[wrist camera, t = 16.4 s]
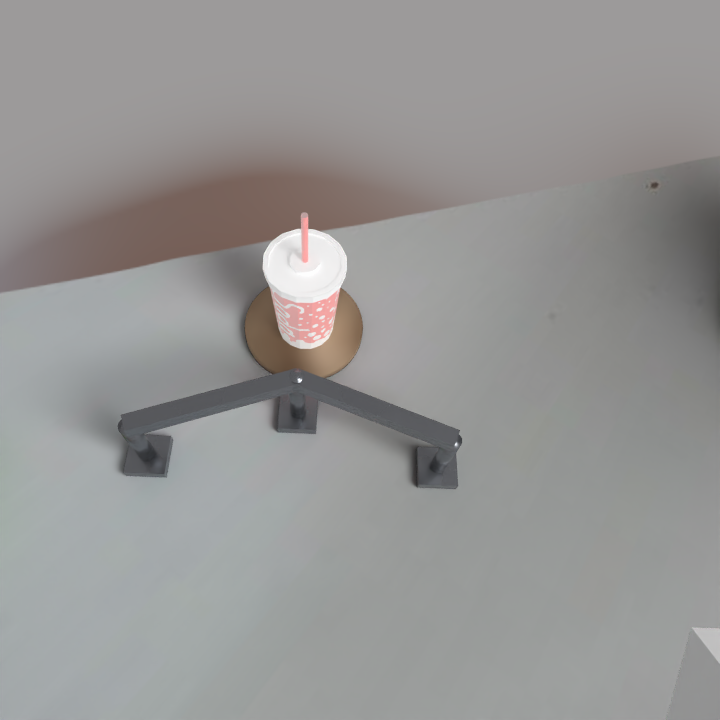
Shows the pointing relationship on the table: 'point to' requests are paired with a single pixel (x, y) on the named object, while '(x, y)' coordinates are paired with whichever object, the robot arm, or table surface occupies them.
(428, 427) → the bent rail
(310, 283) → the beverage cup
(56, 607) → the table surface
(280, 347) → the walnut pad
